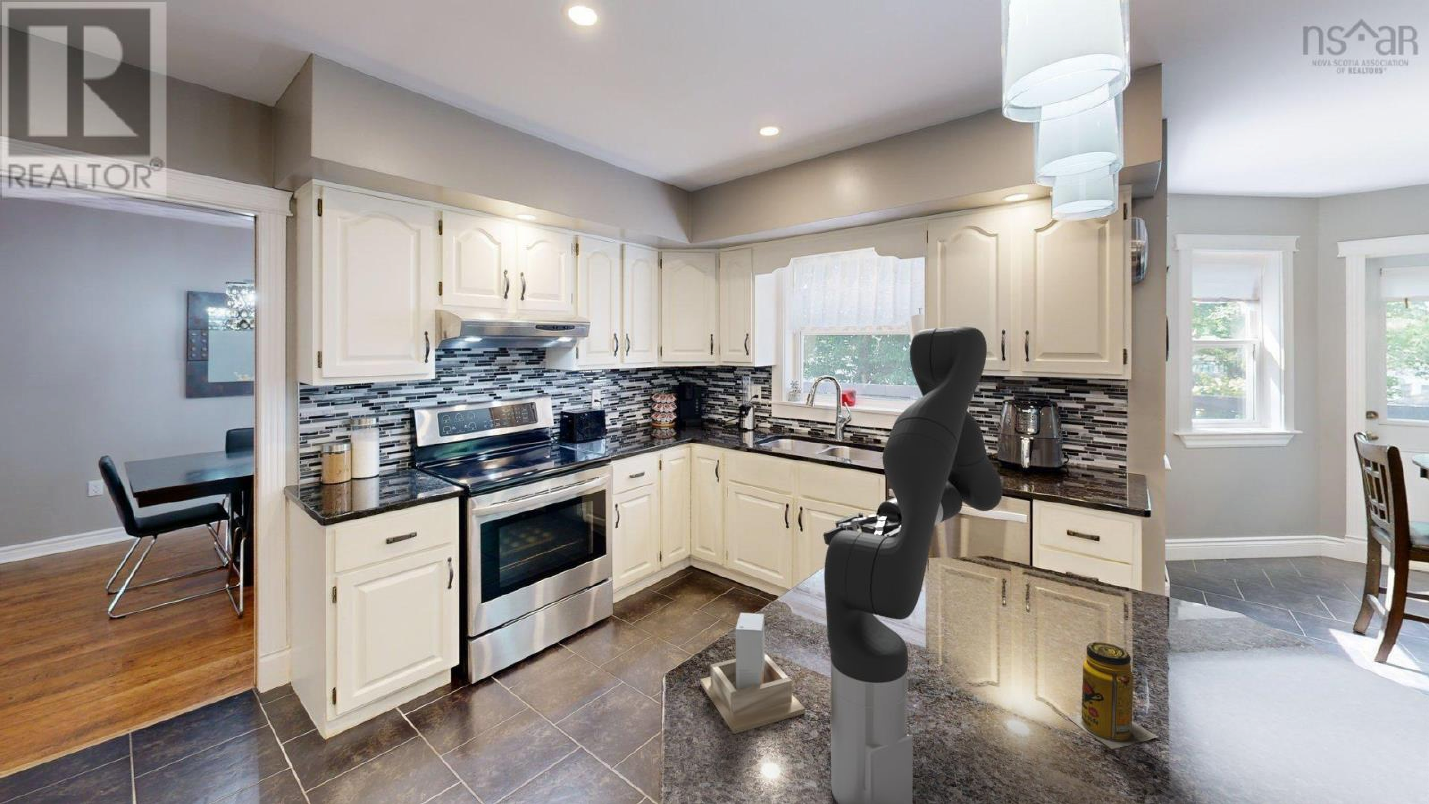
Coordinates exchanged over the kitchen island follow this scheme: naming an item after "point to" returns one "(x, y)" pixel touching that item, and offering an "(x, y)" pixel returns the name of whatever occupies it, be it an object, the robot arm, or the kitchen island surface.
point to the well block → (751, 696)
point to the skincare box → (750, 651)
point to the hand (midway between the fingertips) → (840, 544)
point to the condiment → (1109, 697)
